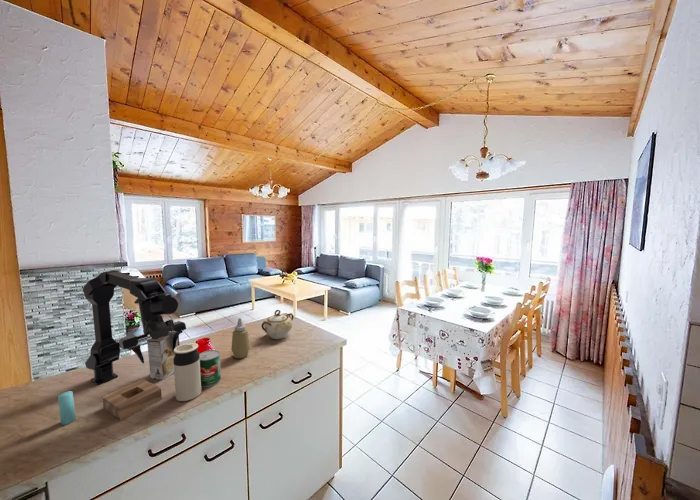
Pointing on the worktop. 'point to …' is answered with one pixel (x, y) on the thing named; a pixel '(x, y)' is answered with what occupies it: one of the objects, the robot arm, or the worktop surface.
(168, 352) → the coffee box
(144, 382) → the socket block
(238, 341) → the squeeze bottle
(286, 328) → the sugar bowl
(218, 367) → the canned tomato
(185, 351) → the travel mug
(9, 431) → the worktop surface
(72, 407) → the peg
